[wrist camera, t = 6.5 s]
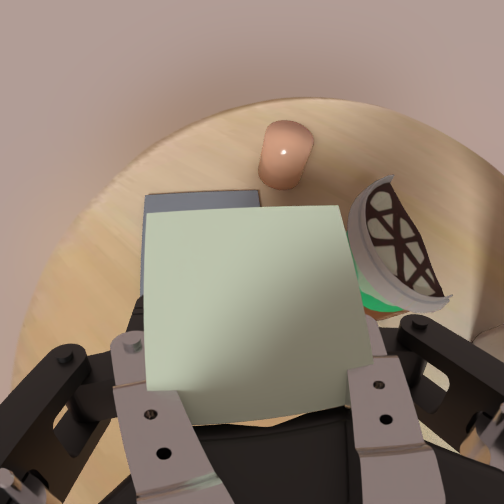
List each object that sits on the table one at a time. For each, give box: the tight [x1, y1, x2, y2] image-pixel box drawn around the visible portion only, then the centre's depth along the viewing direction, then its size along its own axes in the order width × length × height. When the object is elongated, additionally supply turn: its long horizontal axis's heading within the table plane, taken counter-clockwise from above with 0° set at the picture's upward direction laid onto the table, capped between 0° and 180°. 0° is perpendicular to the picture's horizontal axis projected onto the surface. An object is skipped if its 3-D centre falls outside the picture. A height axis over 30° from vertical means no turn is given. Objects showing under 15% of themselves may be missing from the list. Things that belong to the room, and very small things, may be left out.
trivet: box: [140, 190, 260, 297], centre depth 30 cm, size 12×12×1 cm
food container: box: [346, 175, 453, 321], centre depth 26 cm, size 12×6×10 cm, turn 16°
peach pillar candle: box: [258, 120, 314, 190], centre depth 33 cm, size 5×5×6 cm
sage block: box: [144, 205, 374, 425], centre depth 11 cm, size 4×4×10 cm
